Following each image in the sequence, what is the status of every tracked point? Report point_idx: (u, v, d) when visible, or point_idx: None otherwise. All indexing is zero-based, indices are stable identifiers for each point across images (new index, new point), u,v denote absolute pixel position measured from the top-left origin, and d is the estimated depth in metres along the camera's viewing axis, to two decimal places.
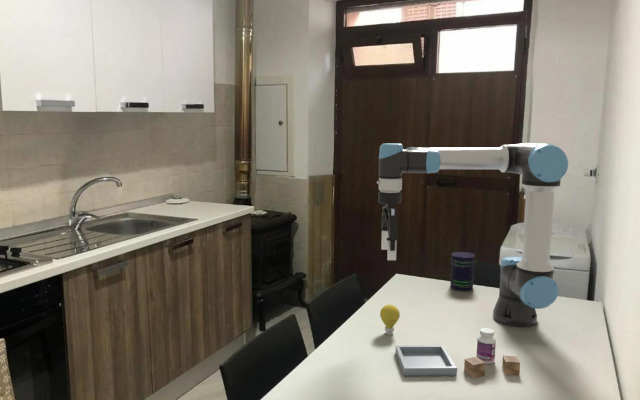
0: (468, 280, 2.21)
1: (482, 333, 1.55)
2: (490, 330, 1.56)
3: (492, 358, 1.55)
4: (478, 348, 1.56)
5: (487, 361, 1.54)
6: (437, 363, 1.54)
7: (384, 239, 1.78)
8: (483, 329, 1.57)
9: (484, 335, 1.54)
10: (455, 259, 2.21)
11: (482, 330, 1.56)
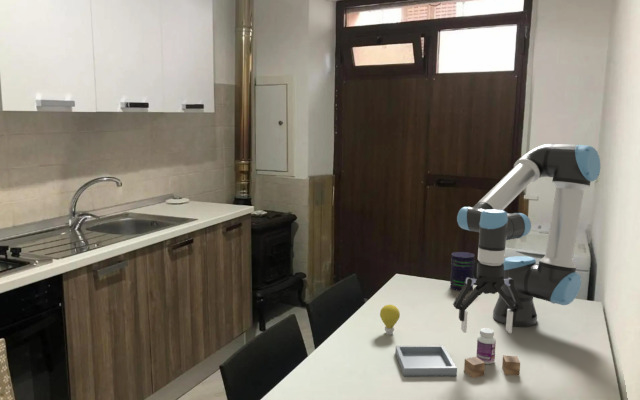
0: None
1: (482, 333, 1.55)
2: (490, 330, 1.56)
3: (492, 358, 1.55)
4: (478, 348, 1.56)
5: (487, 361, 1.54)
6: (437, 363, 1.54)
7: (507, 319, 1.56)
8: (483, 329, 1.57)
9: (484, 335, 1.54)
10: (455, 259, 2.21)
11: (482, 330, 1.56)
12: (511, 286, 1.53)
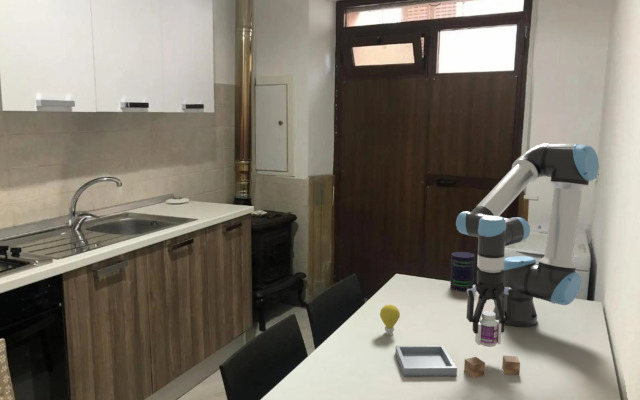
0: (468, 280, 2.21)
1: (484, 316, 1.54)
2: (492, 313, 1.55)
3: (494, 341, 1.54)
4: None
5: (490, 343, 1.54)
6: (437, 363, 1.54)
7: None
8: (485, 312, 1.56)
9: (486, 318, 1.54)
10: (455, 259, 2.21)
11: (484, 313, 1.55)
12: (509, 295, 1.53)
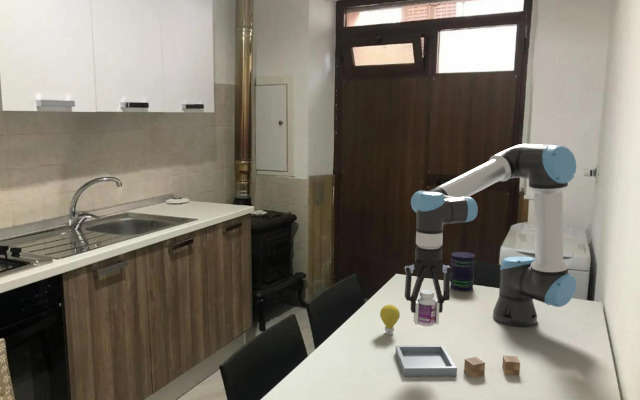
0: (468, 280, 2.21)
1: (421, 294, 1.51)
2: (430, 292, 1.52)
3: (432, 320, 1.50)
4: (418, 310, 1.52)
5: (427, 323, 1.50)
6: (437, 363, 1.54)
7: None
8: (423, 291, 1.52)
9: (423, 296, 1.50)
10: (455, 259, 2.21)
11: (422, 292, 1.52)
12: (447, 274, 1.50)
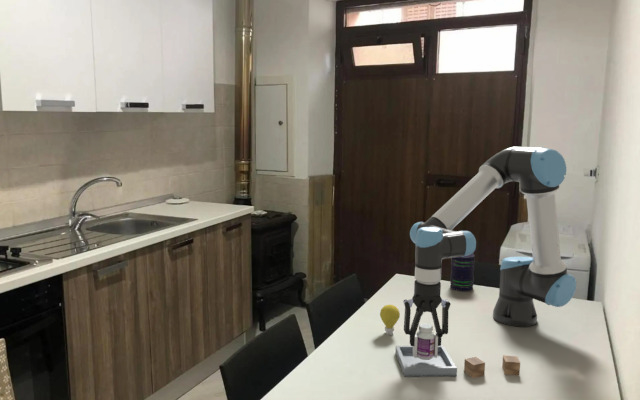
0: (468, 280, 2.21)
1: (420, 328, 1.52)
2: (429, 325, 1.53)
3: (430, 354, 1.52)
4: (417, 343, 1.53)
5: (426, 356, 1.52)
6: (437, 363, 1.54)
7: None
8: (422, 324, 1.54)
9: (422, 330, 1.52)
10: (455, 259, 2.21)
11: (421, 325, 1.53)
12: (446, 308, 1.51)
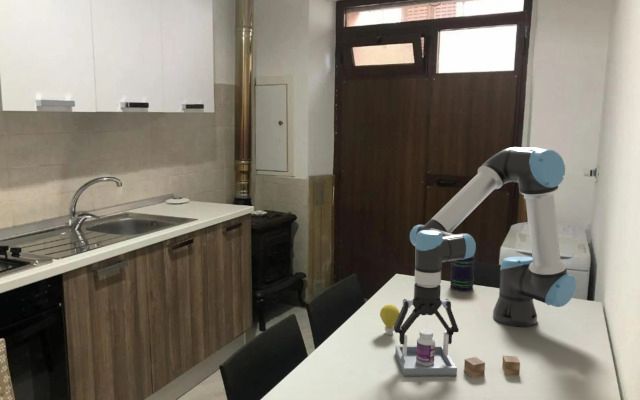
0: (468, 280, 2.21)
1: (421, 334, 1.52)
2: (429, 331, 1.53)
3: (431, 360, 1.52)
4: (417, 349, 1.53)
5: (426, 362, 1.52)
6: (437, 363, 1.54)
7: (444, 341, 1.54)
8: (423, 330, 1.54)
9: (423, 336, 1.52)
10: None
11: (421, 331, 1.53)
12: (448, 308, 1.51)
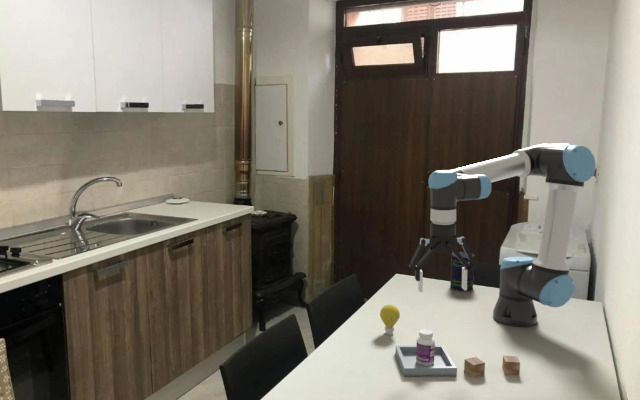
0: (468, 280, 2.21)
1: (421, 334, 1.52)
2: (429, 331, 1.53)
3: (431, 360, 1.52)
4: (417, 350, 1.53)
5: (426, 363, 1.52)
6: (437, 363, 1.54)
7: (462, 277, 1.59)
8: (422, 330, 1.54)
9: (422, 336, 1.52)
10: (455, 259, 2.21)
11: (421, 331, 1.53)
12: (464, 244, 1.56)
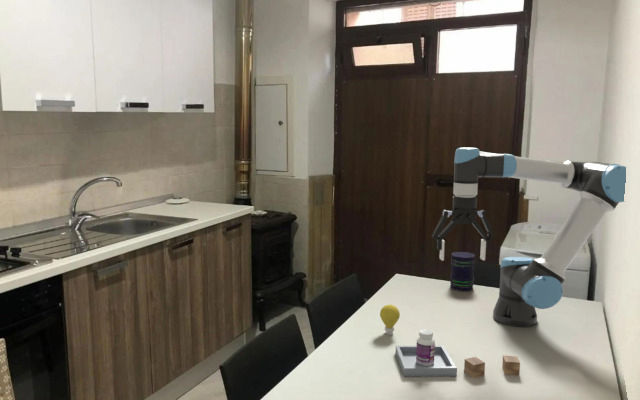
0: (468, 280, 2.21)
1: (421, 334, 1.52)
2: (429, 331, 1.53)
3: (431, 360, 1.52)
4: (417, 350, 1.53)
5: (426, 363, 1.52)
6: (437, 363, 1.54)
7: (481, 248, 1.71)
8: (422, 330, 1.54)
9: (423, 336, 1.52)
10: (455, 259, 2.21)
11: (421, 331, 1.53)
12: (484, 217, 1.68)
